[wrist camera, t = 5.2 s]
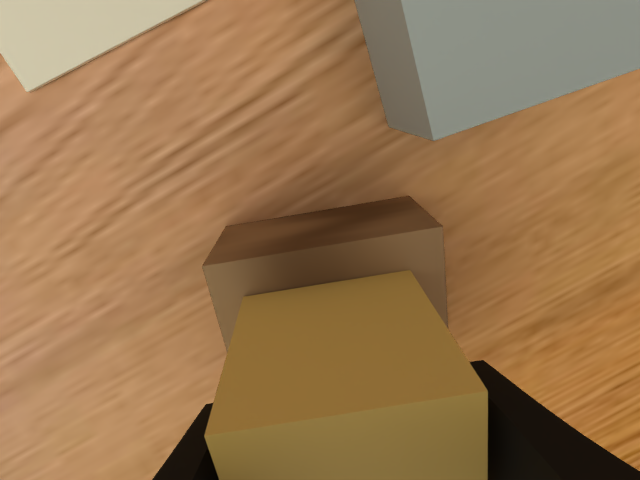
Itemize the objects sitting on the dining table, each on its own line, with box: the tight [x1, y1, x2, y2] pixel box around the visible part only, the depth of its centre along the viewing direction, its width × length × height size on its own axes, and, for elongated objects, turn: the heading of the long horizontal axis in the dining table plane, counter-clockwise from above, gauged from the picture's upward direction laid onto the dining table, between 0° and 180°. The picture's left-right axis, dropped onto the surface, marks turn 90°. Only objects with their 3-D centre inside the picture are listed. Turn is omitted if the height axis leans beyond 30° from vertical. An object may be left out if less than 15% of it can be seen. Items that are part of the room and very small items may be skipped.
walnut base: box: [202, 196, 448, 353], centre depth 14 cm, size 7×7×4 cm
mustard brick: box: [204, 270, 488, 480], centre depth 10 cm, size 5×5×5 cm
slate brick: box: [355, 0, 640, 141], centre depth 10 cm, size 5×5×5 cm
